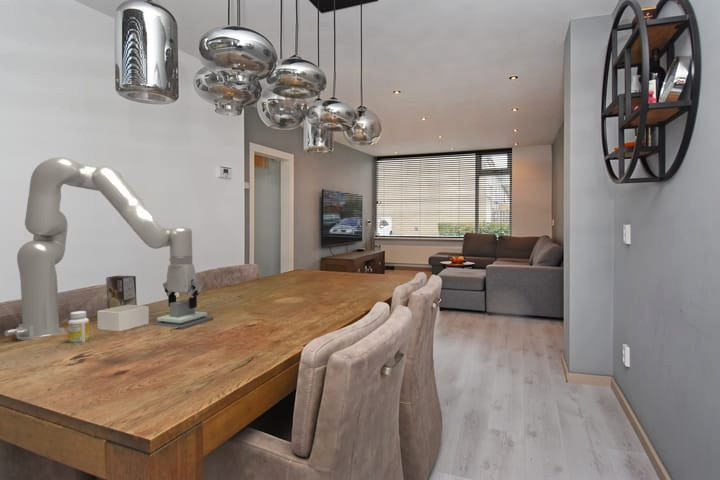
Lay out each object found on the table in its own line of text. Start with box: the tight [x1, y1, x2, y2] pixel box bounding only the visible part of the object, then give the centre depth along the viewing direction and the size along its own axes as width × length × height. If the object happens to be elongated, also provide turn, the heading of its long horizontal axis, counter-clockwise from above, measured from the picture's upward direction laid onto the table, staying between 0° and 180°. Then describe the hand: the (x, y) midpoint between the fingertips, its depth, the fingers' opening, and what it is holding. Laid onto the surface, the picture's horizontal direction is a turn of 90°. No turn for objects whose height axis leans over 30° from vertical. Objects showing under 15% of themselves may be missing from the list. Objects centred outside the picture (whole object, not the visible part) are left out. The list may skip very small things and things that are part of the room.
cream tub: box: [96, 304, 150, 332], centre depth 144 cm, size 12×10×7 cm
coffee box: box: [105, 275, 138, 309], centre depth 164 cm, size 9×6×16 cm
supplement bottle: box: [67, 310, 90, 344], centre depth 126 cm, size 5×5×10 cm
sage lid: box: [156, 298, 208, 324], centre depth 151 cm, size 13×11×7 cm
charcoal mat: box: [150, 315, 214, 331], centre depth 152 cm, size 16×14×1 cm
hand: (182, 307), depth 151 cm, fingers open, 9 cm apart
